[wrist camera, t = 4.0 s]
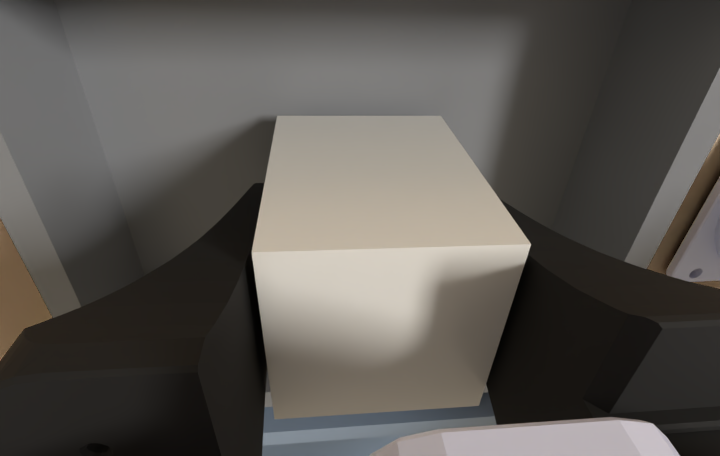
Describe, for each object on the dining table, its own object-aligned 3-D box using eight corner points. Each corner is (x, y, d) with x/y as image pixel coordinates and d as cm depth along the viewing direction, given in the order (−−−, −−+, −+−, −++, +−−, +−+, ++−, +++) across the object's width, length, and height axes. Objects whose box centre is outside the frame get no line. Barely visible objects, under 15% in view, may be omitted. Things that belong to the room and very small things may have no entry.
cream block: (440, 115, 12) (531, 243, 7) (422, 245, 14) (479, 406, 10) (277, 115, 12) (251, 252, 7) (287, 249, 14) (274, 419, 9)
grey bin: (669, -60, 11) (821, -57, 8) (534, 304, 18) (583, 386, 15) (-2, -90, 9) (-168, -101, 6) (145, 322, 17) (105, 417, 14)
